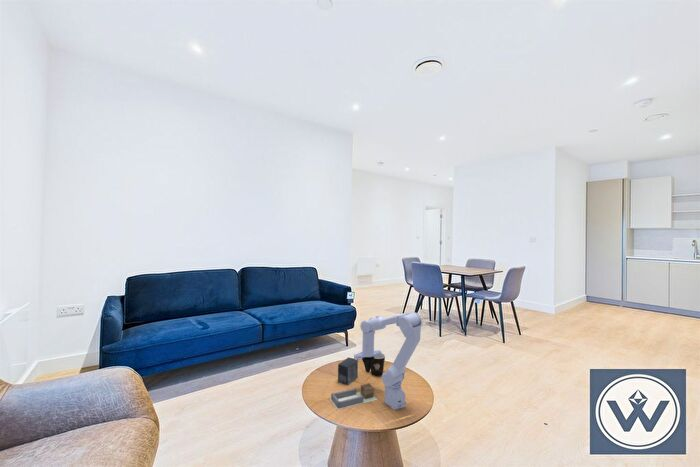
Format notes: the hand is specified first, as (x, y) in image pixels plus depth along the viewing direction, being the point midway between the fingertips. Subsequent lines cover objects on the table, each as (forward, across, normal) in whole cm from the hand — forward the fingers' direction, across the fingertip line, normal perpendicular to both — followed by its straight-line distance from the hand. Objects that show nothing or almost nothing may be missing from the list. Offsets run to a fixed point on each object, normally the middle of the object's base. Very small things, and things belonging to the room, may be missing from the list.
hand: (367, 371), depth 148 cm
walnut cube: (+8, +3, +6) cm, 11 cm away
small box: (+10, +5, -12) cm, 16 cm away
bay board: (+9, +10, +6) cm, 15 cm away
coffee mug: (+10, -13, -15) cm, 22 cm away
